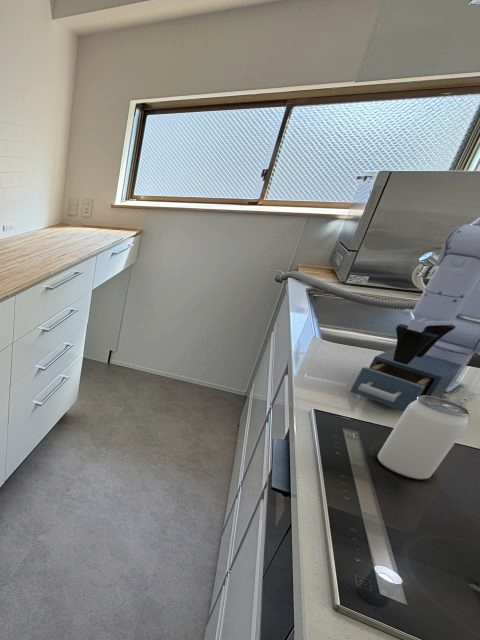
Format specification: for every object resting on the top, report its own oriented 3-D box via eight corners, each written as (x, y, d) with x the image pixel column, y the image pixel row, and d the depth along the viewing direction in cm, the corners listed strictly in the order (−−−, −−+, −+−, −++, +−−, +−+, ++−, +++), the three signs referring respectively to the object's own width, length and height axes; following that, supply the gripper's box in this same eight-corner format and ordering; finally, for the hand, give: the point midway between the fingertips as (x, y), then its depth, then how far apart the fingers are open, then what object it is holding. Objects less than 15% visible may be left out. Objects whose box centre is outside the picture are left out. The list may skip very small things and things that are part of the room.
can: (441, 484, 64) (488, 419, 59) (393, 477, 65) (435, 413, 60) (410, 458, 70) (450, 397, 64) (366, 452, 71) (402, 391, 65)
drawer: (398, 419, 79) (414, 393, 76) (339, 396, 86) (352, 372, 84) (427, 399, 87) (442, 375, 84) (371, 380, 94) (384, 357, 91)
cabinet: (421, 409, 84) (442, 377, 81) (358, 386, 93) (375, 356, 89) (442, 395, 90) (462, 365, 87) (381, 375, 98) (397, 346, 95)
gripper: (430, 283, 83) (395, 345, 89) (402, 291, 76) (367, 357, 82) (480, 293, 78) (440, 358, 84) (456, 302, 71) (414, 372, 77)
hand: (407, 358), depth 83 cm, fingers open, 7 cm apart
